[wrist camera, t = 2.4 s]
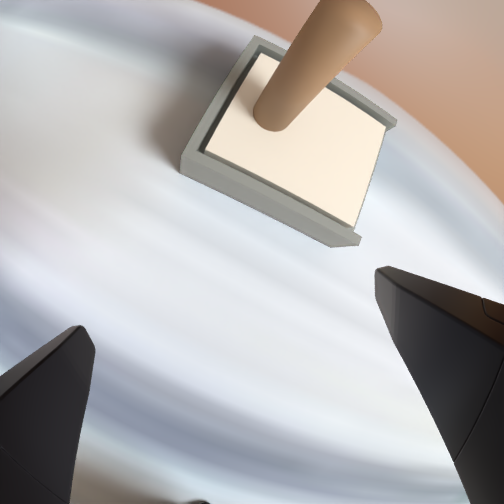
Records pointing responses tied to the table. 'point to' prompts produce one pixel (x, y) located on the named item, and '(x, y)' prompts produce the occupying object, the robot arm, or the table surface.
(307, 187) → the cover plate
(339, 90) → the box
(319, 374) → the table surface
